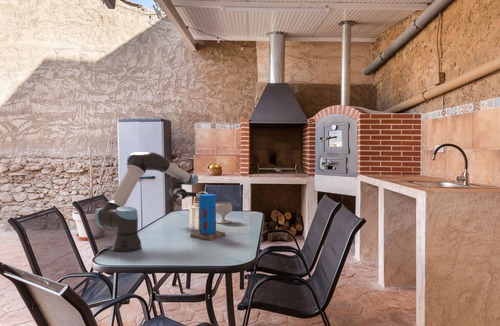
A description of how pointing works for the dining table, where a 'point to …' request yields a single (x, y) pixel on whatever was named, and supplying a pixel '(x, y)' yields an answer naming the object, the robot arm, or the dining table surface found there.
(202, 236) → the walnut board
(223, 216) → the chalice
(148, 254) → the dining table surface
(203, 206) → the blue tower block
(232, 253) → the dining table surface
